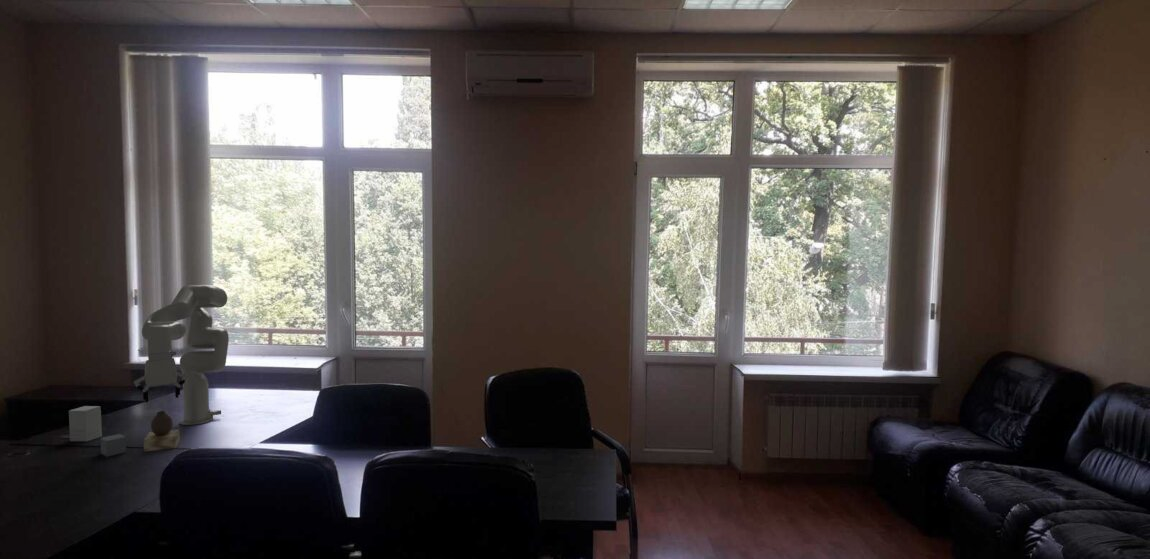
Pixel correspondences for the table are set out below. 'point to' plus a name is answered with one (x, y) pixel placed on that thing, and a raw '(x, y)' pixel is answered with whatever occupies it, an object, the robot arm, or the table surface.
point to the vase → (161, 423)
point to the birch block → (161, 441)
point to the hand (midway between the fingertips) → (162, 399)
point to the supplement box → (85, 423)
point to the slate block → (113, 445)
